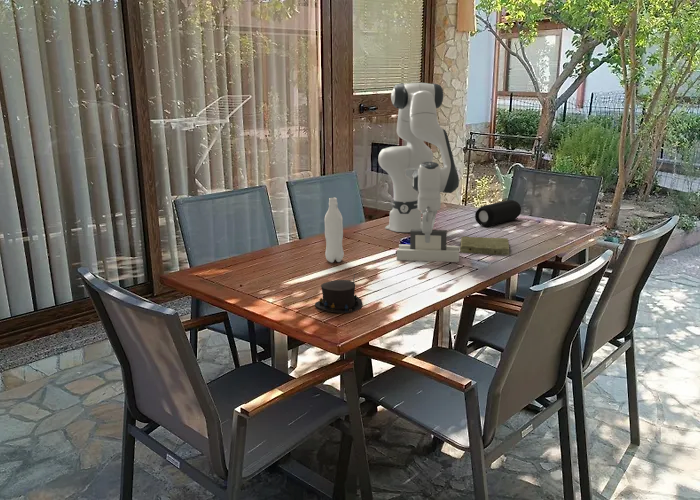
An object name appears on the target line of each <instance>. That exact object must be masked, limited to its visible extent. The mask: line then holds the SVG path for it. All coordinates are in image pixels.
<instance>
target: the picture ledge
mask: <svg viewBox="0 0 700 500" xmlns="http://www.w3.org/2000/svg"><path fill="white" fill-rule="evenodd" d="M396 261H418V262H443V263H444V262H448V263H449V262H450V263H459V261H460V245H446V250H421V249H410V244H402V243H399V244H398V248H397V249H396Z"/></svg>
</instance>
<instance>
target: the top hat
mask: <svg viewBox="0 0 700 500" xmlns="http://www.w3.org/2000/svg"><path fill="white" fill-rule="evenodd" d="M353 274H354V275H353V280H348V279H335V280H330V281H326V282H324V283H322V284H321V285H320V286H321V294H322V297H320V299H319V300H318V301H316V302H315V303H314V306H315V307H316V308H317V309H320V310H322V311H326V312H330V313H338V314H351V313H354V312H355V313H356V312H357V311H360V310H361V308H362V307H363V300H362V299H361V298H360V297H358V296H357V294H355V291H356V283H355V277H356V273H353Z"/></svg>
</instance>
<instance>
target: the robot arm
mask: <svg viewBox="0 0 700 500" xmlns="http://www.w3.org/2000/svg"><path fill="white" fill-rule="evenodd" d="M390 99H391V104H392V106H393V107H394V108H395V109H398V112H397V113H398V114H397V122H396V123H397V124H396V134H397V136H398V137H399V138H400V139H401V140H403V141H405V142H407V143H406V145H401V146H399V145H398V146H395V145H394V146H389V147H385V148H382V149H381V150H380V152H379V154H378V155H377V156H378V159H377V162H378V165H379V166H380V168H381V169H382V170H383V171H385V172H386V173H387V175H388V176H389V177H390V179H391V182H392V188H393V189H392V190H393V199H392V209H391V210H390V211H389V218H388V219H389V221H388V225H386V226H385V229H386V230H390V231H391V232H397V233H410V231H411V229H415V230H422V232H423V233H425V242H426V243H429V242H430V233H432V230H434V225H435V221H436V218H437V216H436V215H437V214H438V211H439V210H441V199H442V197H441V193H443V194H453V192H454V191H456V190H457V189H458V188H459V184H460V177H459V173H458V171H457V167H456V164H455V161H454V156H453V151H452V148H451V144H450V139H449V136H448V133H447V131H446V129H444V128H442V127H441V125H440V124H439V121H438V114H437V109H439V108H440V107H441V106H442V105H443V102H444V90H443V87H442V86H441V85H440V84H436V83H427V82H411V83H410V82H407V83H403V82H401V83H396V84H395V85H394V86H393V87H392V91H391V93H390ZM425 142H426V143H429V144H431V145H434V146H435V147H437V148H438V150H439V152H440V156H441V161H442V163H443V164H442V165H443V167H440V164H439V163H437V162H434V161H433V160H434V153H433V151H432V149H431V148H430V146H428V145H427V144H426V143H425ZM413 170H414V171H413ZM407 171H413V173H412V174H411V175H412V177H410V176H408V175H407Z"/></svg>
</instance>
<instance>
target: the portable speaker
mask: <svg viewBox="0 0 700 500" xmlns="http://www.w3.org/2000/svg"><path fill="white" fill-rule="evenodd" d="M521 213H522V206H521V204H520V203H519V202H517V200H513V199H508V200H503V201H499V202H494V203H490V204H485V205H482V206H480V207H478V209H477V210H476V212H475V213H474V218H475V221H476V222H477V224H478V225H480V226H483V227H486V226H487V227H491V226H494V225H495V226H496V225H499V224H502V223H506V222H510V221H513V220H516V219H518V217H519V216H520V214H521Z"/></svg>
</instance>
